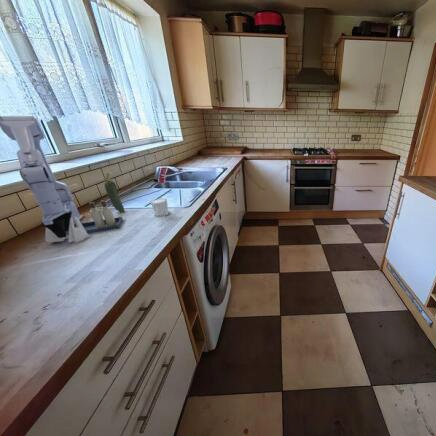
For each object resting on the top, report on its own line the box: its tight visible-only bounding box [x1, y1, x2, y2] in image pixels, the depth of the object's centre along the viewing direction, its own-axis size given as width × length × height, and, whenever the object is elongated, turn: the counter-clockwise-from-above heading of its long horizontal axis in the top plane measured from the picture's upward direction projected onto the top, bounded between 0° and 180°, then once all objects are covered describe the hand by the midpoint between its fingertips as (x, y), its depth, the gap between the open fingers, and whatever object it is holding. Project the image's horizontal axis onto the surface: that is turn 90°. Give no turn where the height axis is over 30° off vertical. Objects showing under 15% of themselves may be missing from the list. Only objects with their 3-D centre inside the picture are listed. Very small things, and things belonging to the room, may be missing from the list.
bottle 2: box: [100, 200, 117, 226], centre depth 96 cm, size 3×3×11 cm
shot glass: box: [150, 198, 169, 217], centre depth 109 cm, size 7×7×7 cm
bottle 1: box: [89, 201, 106, 228], centre depth 95 cm, size 3×3×11 cm
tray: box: [66, 216, 124, 235], centre depth 95 cm, size 9×23×2 cm, turn 115°
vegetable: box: [104, 171, 125, 213], centre depth 108 cm, size 4×4×20 cm
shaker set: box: [44, 217, 90, 243], centre depth 85 cm, size 12×4×11 cm, turn 105°
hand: (65, 233), depth 86 cm, fingers open, 5 cm apart
